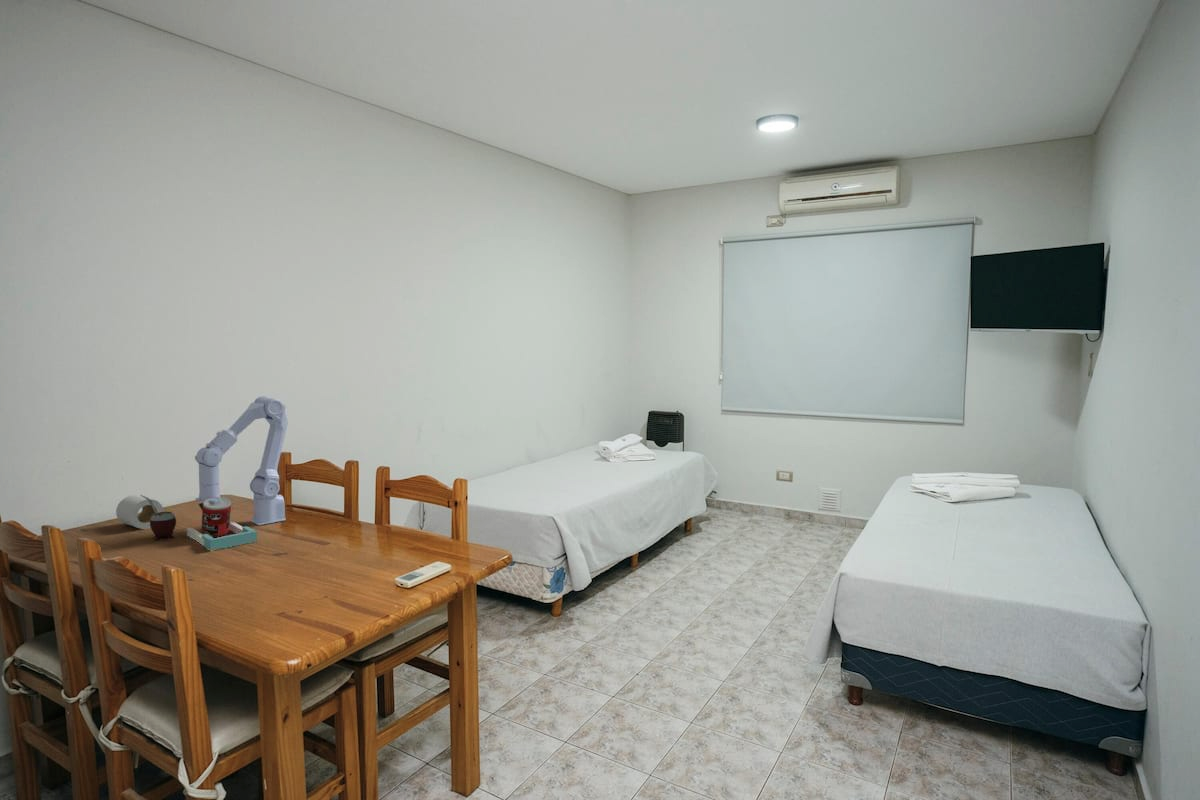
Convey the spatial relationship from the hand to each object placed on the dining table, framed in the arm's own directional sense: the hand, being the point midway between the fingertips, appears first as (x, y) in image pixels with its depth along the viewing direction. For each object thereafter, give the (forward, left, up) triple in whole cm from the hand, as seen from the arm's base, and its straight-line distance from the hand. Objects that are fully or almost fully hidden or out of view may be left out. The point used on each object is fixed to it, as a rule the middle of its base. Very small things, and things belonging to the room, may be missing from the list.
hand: (210, 523), depth 221 cm
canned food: (0, +4, -2) cm, 4 cm away
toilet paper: (+14, -24, -3) cm, 28 cm away
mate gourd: (+13, -4, -3) cm, 14 cm away
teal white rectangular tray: (0, +10, -3) cm, 10 cm away
